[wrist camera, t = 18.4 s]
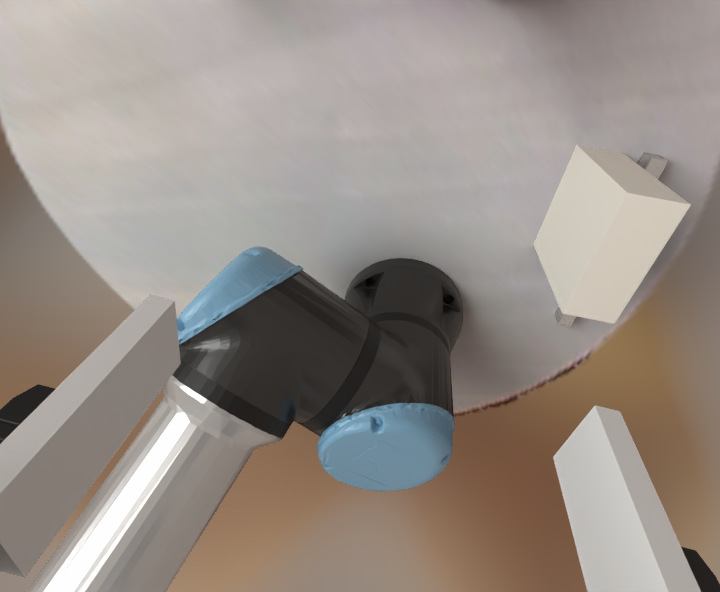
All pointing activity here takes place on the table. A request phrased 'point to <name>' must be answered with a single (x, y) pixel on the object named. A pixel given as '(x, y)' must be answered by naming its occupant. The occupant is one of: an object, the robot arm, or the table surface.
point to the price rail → (655, 168)
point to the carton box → (604, 232)
